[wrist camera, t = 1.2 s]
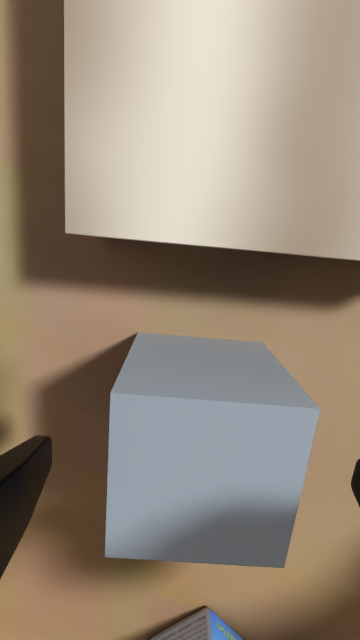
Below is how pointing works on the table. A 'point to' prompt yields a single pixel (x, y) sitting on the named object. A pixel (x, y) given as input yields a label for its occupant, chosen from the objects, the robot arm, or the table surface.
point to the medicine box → (199, 628)
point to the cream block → (214, 123)
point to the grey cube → (205, 453)
